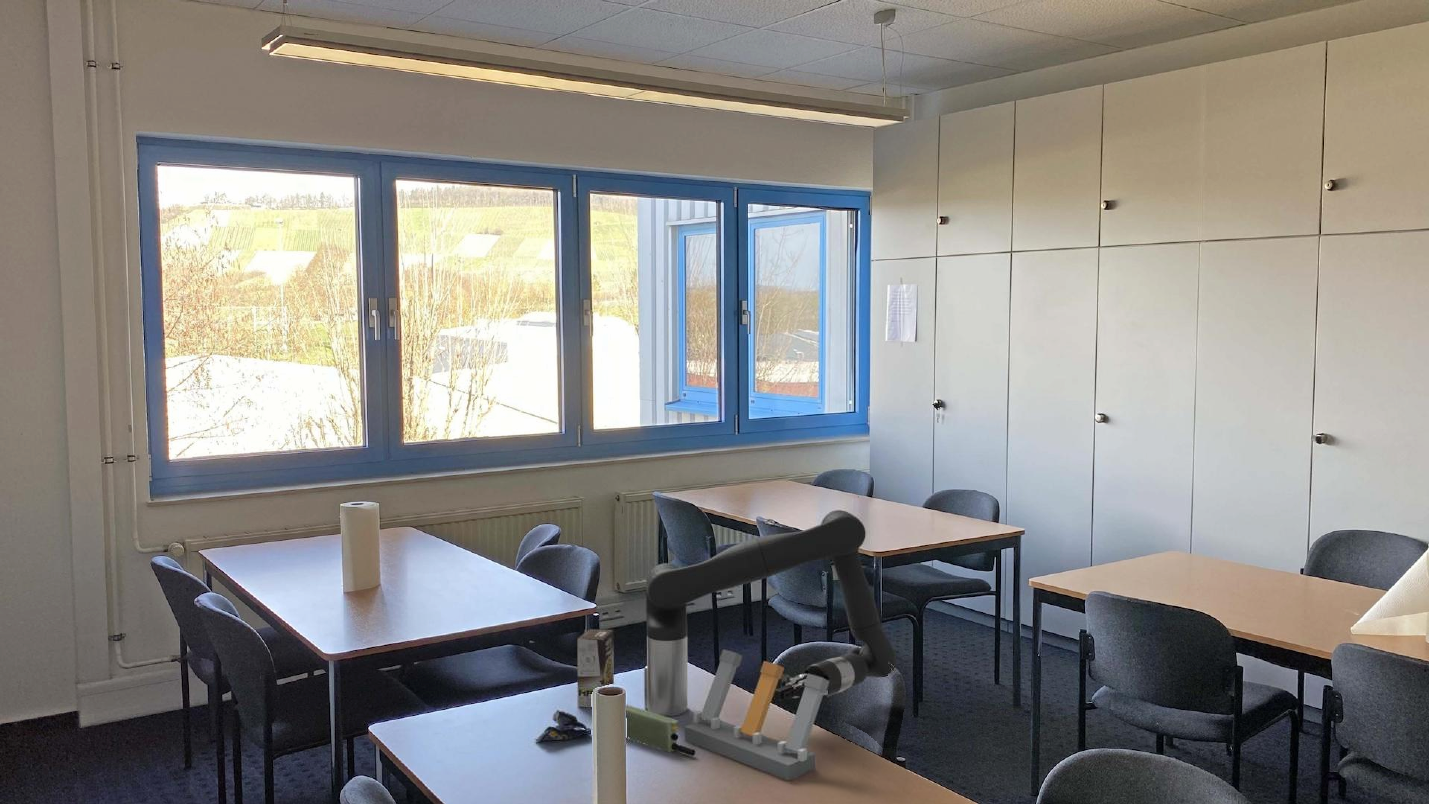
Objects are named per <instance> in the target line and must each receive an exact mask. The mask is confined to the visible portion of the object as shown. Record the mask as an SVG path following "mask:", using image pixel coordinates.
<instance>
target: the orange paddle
mask: <svg viewBox="0 0 1429 804" xmlns="http://www.w3.org/2000/svg"><path fill="white" fill-rule="evenodd" d="M784 670H785V667H783V666H781V665H779V664H776V663H773V662H769V661H765V660H763V662H762V665H761V668H760V671H759V672H760V673H761V674H760V676H759V679H758V682H757V684H756V688H755V689H754V693H753V696H752V699H751V702H750V704H749V707H748V710H747V713H746V716H745V718H744V721H743V723H742V724H743V725H742V726H743V727H742V730H741V732H743V733H745V734H747V735H750V736H753V734H754V733H756V732H760V733H762V732H761V731H762V729H763V726H764V722H765V720H766V718H767V714H768V711H769V710H770V709H769V708H770V705H771V703H772V699H773V697H774V695H775V690H776V689H777V686H778V682H779V680H782V675H783V674H784V673H783V672H784Z"/></svg>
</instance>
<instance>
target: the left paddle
mask: <svg viewBox="0 0 1429 804" xmlns="http://www.w3.org/2000/svg"><path fill="white" fill-rule="evenodd" d="M742 659H743V655H741V654H739V653H737V652H735V651H731V650H728V649H724V648H723V650H722V651H721V655H720V657H719V661H720V662H719V664H718V667H717V670H716V673H715V675H714V678H713V681H712V684H711V687H710V689H709V692H708V694H707V697H706V700H705V703H704V704H703V708H702V710H701V712H702V713H701V716H700V717H701V718H702V720H705V719H706V720H709V721H711V719H712V718H715V717H717V718H720V714H721V712H722V709H723V706H724V704H725V701H726V699H727V696H728V692H729V691H730V687H731V685H732V682H733V679H734V677H735V673H736V672H737V668H738V667H740V665H741V662H742Z"/></svg>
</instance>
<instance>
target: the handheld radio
mask: <svg viewBox="0 0 1429 804" xmlns="http://www.w3.org/2000/svg"><path fill="white" fill-rule="evenodd" d="M625 705H626V718H627V738H626V739H628V737H629V738H630V739H629V740H631V741H634V740H635V742H637V741H639V742H638V743H640V742H641V744H643V743H645V744H644V745H646V744H647V746H649V747H652V746H653V747H652V748H655V749H658V748H660V749H659V750H661V749H662V750H661V751H664V752H666V751H667V753H671V752H670V751H672V752H674V750H675V751H678V752H679V753H682V754H685V755H688V756H691V757H694V756H695V755H696V750H695V749H692V748H690V747H687V746H684V745H681V744H677V740H678V739H679V734H677V730H678V728H679V727H678V726H677V723H678V722H679V720H676V719H674V718H670V717H669V716H661V715H658V714H655V713H651V712H648V710H645V709H641V708H639V707H634V706H632V705H628V704H625Z"/></svg>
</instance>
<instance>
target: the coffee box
mask: <svg viewBox="0 0 1429 804" xmlns="http://www.w3.org/2000/svg"><path fill="white" fill-rule="evenodd" d="M614 631H615V630H613V629H601V628H599V629H593V628H592V629H590V628H589V629H588V630H586V631H585V632H584V633H582V634H581V635H580V636H579V637H578V638H577V649H576V650H577V670H576V671H577V707H580V708H589V709H590V708H591V694H592V692H593V690H594V689H595V688H597V687H602V686H605V685H609V684H614V685H615V679H614V678H615V677H614V676H615V674H614V673H615V672H614V665H615V664H614V661H615V660H614V659H615V657H614V656H615V655H614V650H615V649H614V648H615V647H614Z"/></svg>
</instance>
